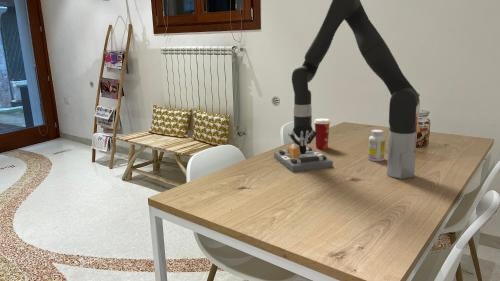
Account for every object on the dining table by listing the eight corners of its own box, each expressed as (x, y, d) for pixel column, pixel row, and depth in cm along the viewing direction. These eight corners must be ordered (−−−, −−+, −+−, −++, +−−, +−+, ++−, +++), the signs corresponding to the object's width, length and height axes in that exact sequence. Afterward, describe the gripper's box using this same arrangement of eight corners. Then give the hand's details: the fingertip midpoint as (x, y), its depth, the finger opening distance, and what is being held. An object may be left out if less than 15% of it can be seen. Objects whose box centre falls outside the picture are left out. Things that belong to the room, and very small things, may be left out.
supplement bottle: (382, 157, 172) (383, 128, 168) (385, 161, 165) (387, 132, 162) (366, 157, 172) (367, 129, 169) (369, 161, 166) (371, 132, 163)
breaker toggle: (299, 158, 165) (299, 146, 164) (293, 158, 165) (293, 147, 163) (295, 155, 170) (295, 143, 169) (288, 155, 169) (288, 144, 168)
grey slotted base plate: (326, 165, 163) (326, 156, 162) (293, 169, 159) (293, 160, 158) (309, 154, 179) (309, 146, 178) (279, 158, 175) (279, 150, 174)
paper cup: (331, 149, 186) (331, 121, 182) (315, 150, 186) (315, 121, 182) (328, 145, 193) (328, 117, 190) (312, 145, 193) (313, 118, 190)
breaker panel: (332, 166, 161) (332, 159, 160) (292, 171, 156) (292, 164, 155) (310, 152, 181) (310, 146, 181) (274, 157, 177) (273, 150, 176)
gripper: (291, 117, 159) (291, 157, 163) (320, 114, 162) (320, 154, 166) (284, 114, 166) (285, 152, 170) (313, 111, 169) (312, 149, 173)
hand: (302, 153), depth 168 cm, fingers closed
